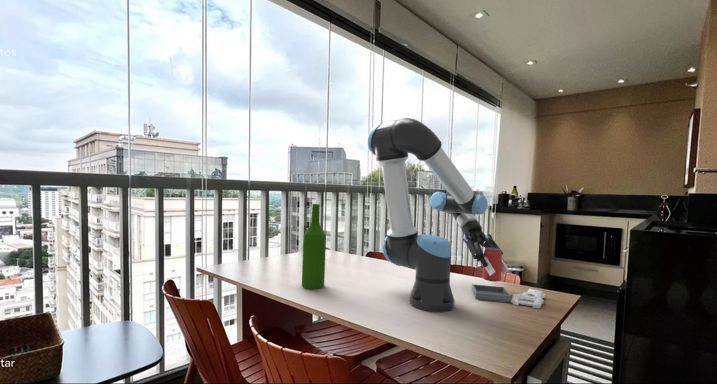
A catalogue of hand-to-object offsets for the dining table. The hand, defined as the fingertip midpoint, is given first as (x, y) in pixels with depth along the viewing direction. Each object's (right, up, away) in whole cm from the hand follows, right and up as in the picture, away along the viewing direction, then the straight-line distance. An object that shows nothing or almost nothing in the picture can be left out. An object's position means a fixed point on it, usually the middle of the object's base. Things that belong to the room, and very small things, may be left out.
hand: (499, 272), depth 127 cm
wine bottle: (-71, -7, +8) cm, 72 cm away
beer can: (-2, -4, +3) cm, 5 cm away
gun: (+10, -11, -1) cm, 15 cm away
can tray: (-2, -10, +3) cm, 10 cm away
